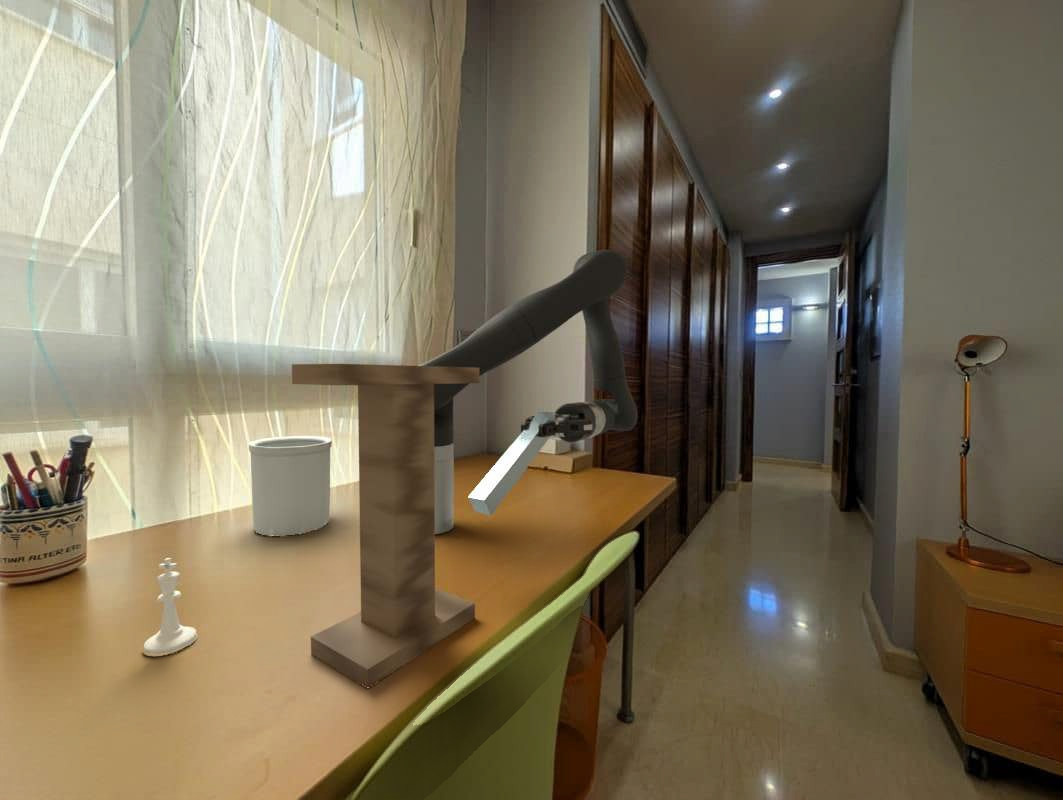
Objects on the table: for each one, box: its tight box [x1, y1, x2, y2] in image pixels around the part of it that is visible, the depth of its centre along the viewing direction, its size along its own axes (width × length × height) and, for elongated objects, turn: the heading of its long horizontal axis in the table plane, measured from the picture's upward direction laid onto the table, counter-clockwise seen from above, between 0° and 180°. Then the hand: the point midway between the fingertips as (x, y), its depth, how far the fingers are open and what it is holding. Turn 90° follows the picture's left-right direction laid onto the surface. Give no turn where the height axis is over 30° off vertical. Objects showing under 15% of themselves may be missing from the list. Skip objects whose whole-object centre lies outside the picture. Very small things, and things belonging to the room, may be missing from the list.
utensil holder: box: [248, 435, 333, 537], centre depth 93 cm, size 15×15×18 cm
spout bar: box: [468, 411, 556, 516], centre depth 73 cm, size 22×3×3 cm, turn 146°
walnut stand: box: [291, 363, 480, 688], centre depth 54 cm, size 20×10×32 cm, turn 146°
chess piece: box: [143, 557, 198, 655], centre depth 52 cm, size 5×5×10 cm
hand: (531, 430), depth 77 cm, fingers closed on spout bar, 3 cm apart
